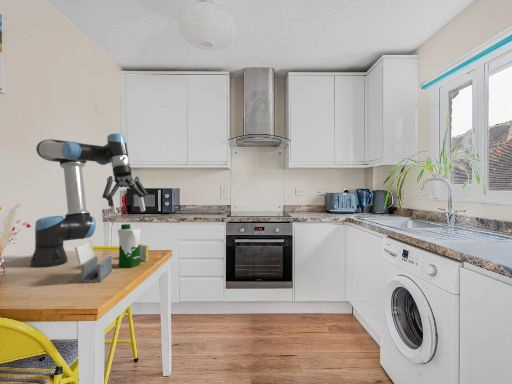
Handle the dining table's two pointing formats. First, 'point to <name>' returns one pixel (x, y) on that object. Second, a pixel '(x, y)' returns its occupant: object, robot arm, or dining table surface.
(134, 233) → the milk carton
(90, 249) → the cover
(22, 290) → the dining table surface
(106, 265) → the stand
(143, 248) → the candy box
